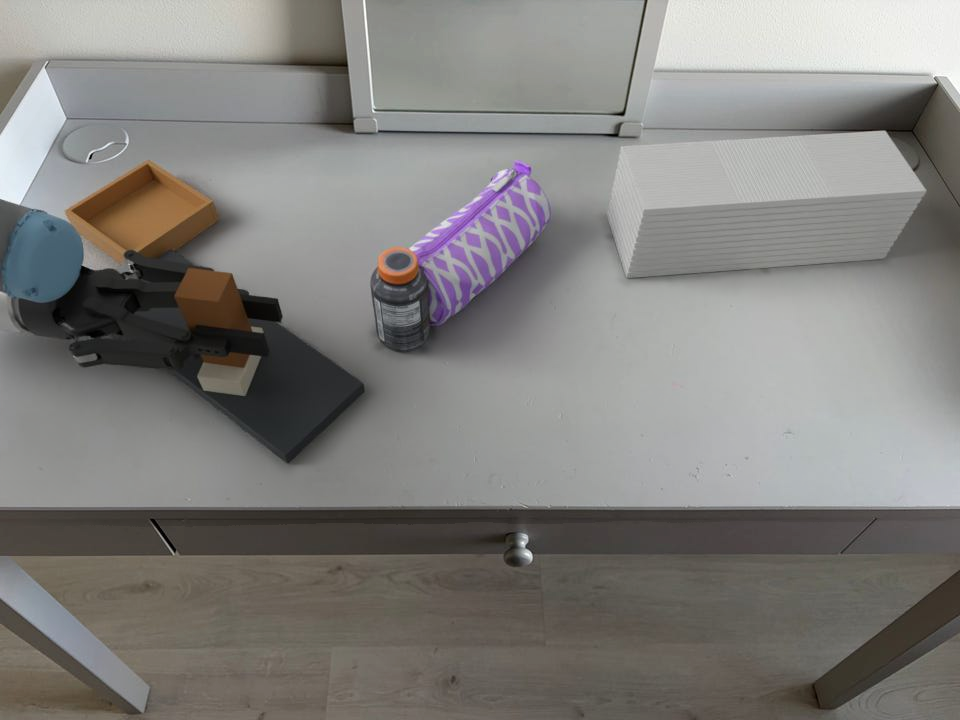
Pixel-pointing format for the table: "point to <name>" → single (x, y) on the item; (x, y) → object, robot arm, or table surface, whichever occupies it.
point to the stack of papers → (759, 202)
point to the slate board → (275, 386)
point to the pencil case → (481, 240)
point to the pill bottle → (400, 300)
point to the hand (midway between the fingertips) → (271, 327)
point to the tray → (142, 213)
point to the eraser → (218, 306)
